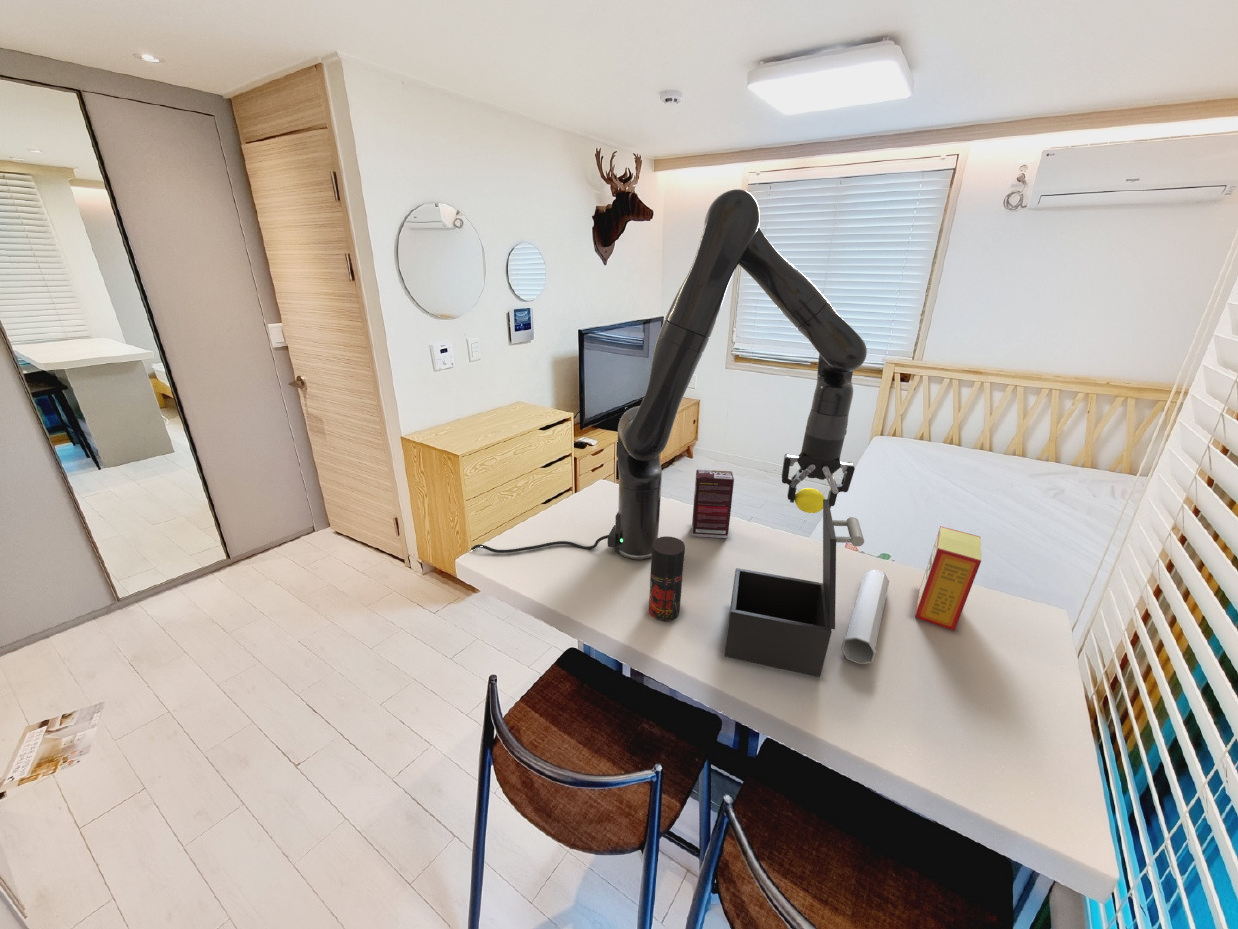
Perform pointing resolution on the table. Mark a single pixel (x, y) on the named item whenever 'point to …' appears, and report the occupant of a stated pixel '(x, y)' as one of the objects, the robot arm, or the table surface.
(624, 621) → the table surface
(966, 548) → the baking soda box
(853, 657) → the tube
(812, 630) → the dark grey box
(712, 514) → the supplement box
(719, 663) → the table surface
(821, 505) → the lemon
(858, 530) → the lid
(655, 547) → the deodorant
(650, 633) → the table surface
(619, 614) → the table surface
